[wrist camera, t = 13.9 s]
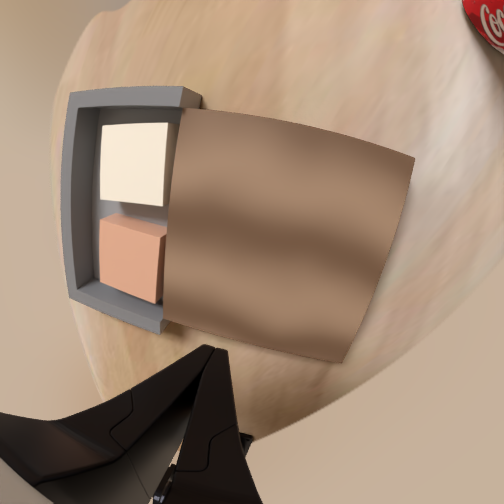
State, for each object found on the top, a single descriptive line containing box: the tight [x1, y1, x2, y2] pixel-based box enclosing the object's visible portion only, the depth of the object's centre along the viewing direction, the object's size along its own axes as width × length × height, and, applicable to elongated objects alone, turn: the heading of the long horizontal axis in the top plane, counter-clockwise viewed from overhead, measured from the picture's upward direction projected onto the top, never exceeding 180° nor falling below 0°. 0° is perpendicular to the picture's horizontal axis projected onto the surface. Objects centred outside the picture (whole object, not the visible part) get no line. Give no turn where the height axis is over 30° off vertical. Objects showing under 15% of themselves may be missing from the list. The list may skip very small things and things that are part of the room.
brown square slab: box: [163, 108, 415, 363], centre depth 17 cm, size 14×13×2 cm
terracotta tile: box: [99, 213, 167, 304], centre depth 19 cm, size 5×5×2 cm
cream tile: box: [100, 123, 180, 206], centre depth 16 cm, size 5×5×2 cm
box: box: [61, 86, 202, 335], centre depth 18 cm, size 16×9×3 cm, turn 170°
